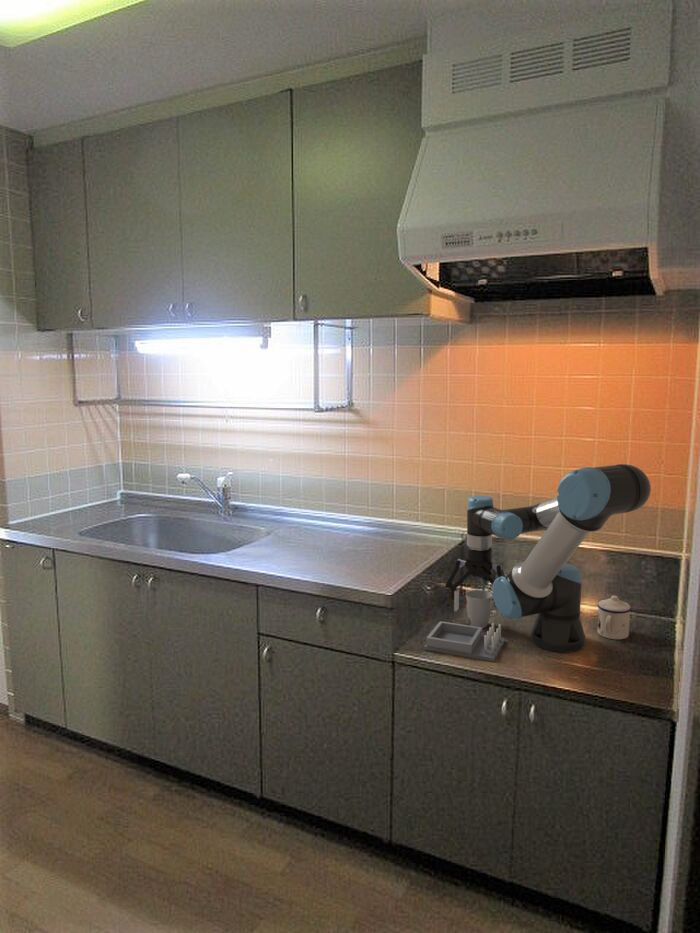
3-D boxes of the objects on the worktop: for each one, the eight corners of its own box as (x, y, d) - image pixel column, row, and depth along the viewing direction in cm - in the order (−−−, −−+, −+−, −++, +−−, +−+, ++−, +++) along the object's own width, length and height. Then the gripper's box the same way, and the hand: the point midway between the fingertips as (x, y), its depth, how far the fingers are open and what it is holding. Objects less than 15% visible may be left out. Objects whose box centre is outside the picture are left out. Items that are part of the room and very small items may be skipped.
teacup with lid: (601, 625, 201) (602, 589, 199) (632, 632, 196) (634, 594, 194) (590, 639, 192) (591, 601, 190) (622, 646, 186) (624, 607, 184)
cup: (473, 618, 209) (473, 588, 207) (496, 624, 204) (497, 593, 202) (460, 626, 203) (460, 595, 201) (484, 632, 198) (484, 601, 196)
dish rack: (505, 641, 191) (505, 622, 190) (494, 661, 179) (494, 641, 178) (438, 631, 199) (438, 612, 198) (424, 649, 187) (424, 629, 186)
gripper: (523, 548, 198) (521, 614, 201) (443, 539, 208) (442, 602, 212) (518, 555, 191) (516, 623, 195) (436, 545, 201) (435, 611, 205)
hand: (477, 613), depth 203 cm, fingers open, 13 cm apart
